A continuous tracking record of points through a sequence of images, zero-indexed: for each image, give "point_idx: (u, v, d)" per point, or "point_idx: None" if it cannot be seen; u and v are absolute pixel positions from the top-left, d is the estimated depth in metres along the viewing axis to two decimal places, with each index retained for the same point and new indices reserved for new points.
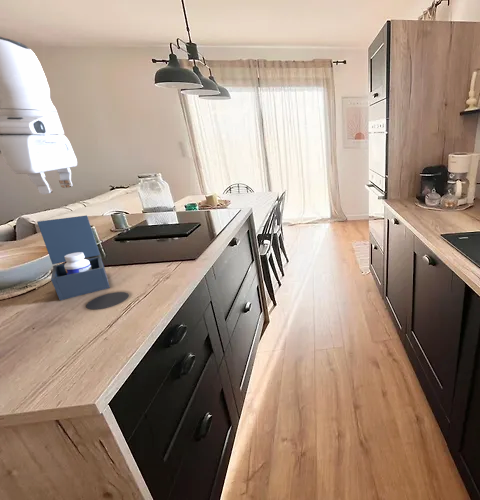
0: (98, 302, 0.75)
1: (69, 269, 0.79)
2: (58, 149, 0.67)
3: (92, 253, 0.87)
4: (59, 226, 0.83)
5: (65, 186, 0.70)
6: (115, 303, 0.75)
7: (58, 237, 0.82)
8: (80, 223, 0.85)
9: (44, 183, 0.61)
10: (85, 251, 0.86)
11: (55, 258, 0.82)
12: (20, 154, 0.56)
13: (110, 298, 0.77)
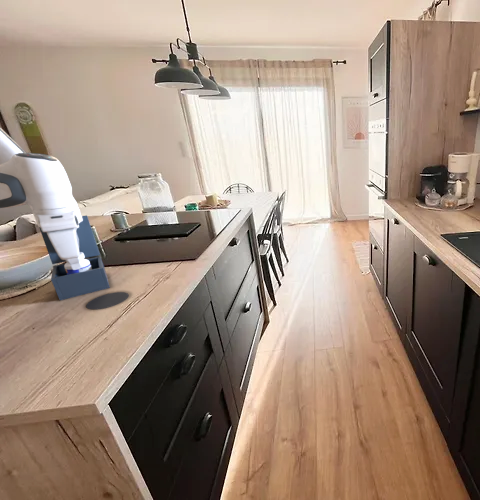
0: (98, 302, 0.75)
1: (69, 269, 0.79)
2: None
3: (92, 253, 0.87)
4: None
5: None
6: (115, 303, 0.75)
7: None
8: (80, 223, 0.86)
9: (78, 261, 0.78)
10: (85, 251, 0.86)
11: (55, 258, 0.82)
12: (69, 245, 0.72)
13: (110, 298, 0.77)
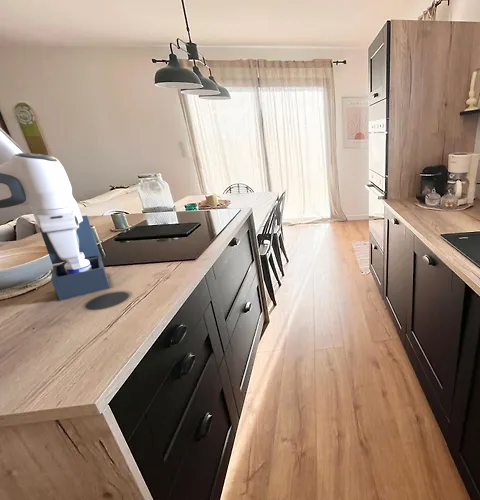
0: (98, 302, 0.75)
1: (69, 269, 0.79)
2: None
3: (92, 253, 0.87)
4: None
5: None
6: (115, 303, 0.75)
7: None
8: (80, 223, 0.86)
9: (77, 261, 0.78)
10: (85, 251, 0.86)
11: (55, 258, 0.82)
12: (69, 245, 0.72)
13: (110, 298, 0.77)
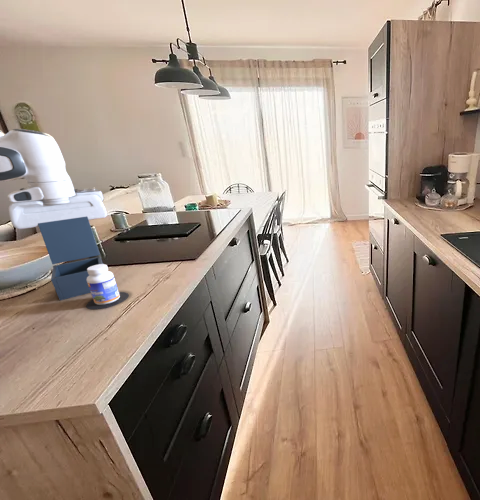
0: None
1: (92, 283, 0.72)
2: (73, 207, 0.84)
3: (92, 253, 0.87)
4: (59, 226, 0.83)
5: None
6: (115, 303, 0.75)
7: (58, 237, 0.82)
8: (79, 223, 0.85)
9: None
10: (85, 251, 0.86)
11: (55, 258, 0.82)
12: (10, 216, 0.77)
13: None
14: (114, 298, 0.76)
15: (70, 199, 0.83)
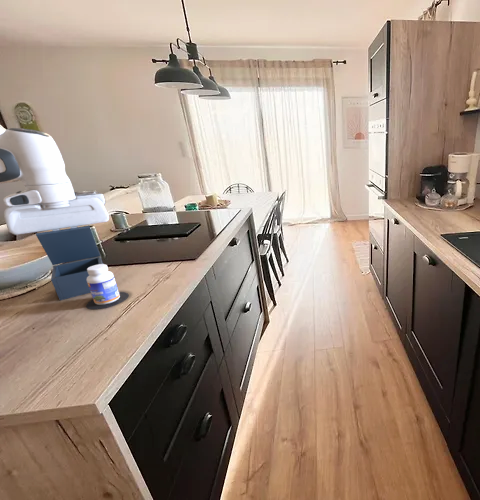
0: None
1: (92, 283, 0.72)
2: (73, 211, 0.79)
3: (93, 255, 0.87)
4: (60, 237, 0.78)
5: None
6: (115, 303, 0.75)
7: (59, 246, 0.79)
8: (82, 234, 0.80)
9: None
10: (86, 254, 0.85)
11: (55, 261, 0.82)
12: None
13: None
14: (114, 298, 0.76)
15: (70, 203, 0.78)
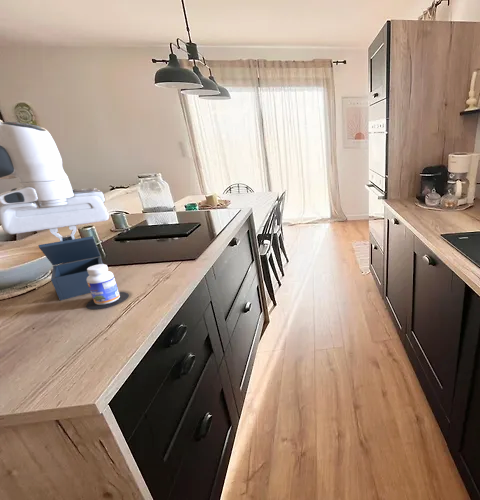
0: None
1: (92, 283, 0.72)
2: (71, 209, 0.76)
3: (93, 256, 0.87)
4: (63, 247, 0.77)
5: None
6: (115, 303, 0.75)
7: (61, 252, 0.78)
8: (84, 243, 0.79)
9: (56, 236, 0.76)
10: (86, 256, 0.85)
11: (56, 262, 0.82)
12: None
13: None
14: (114, 298, 0.76)
15: (68, 200, 0.75)
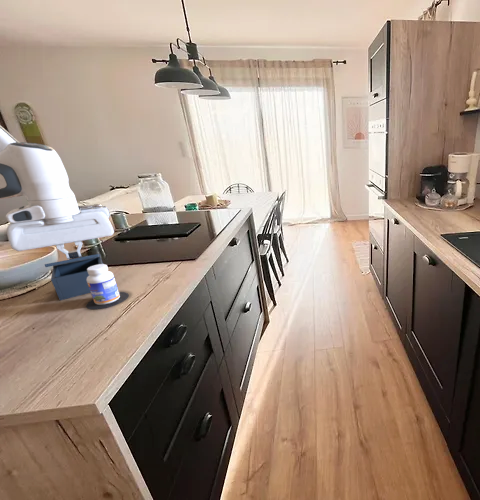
0: None
1: (92, 283, 0.72)
2: (77, 225, 0.77)
3: None
4: None
5: None
6: (115, 303, 0.75)
7: None
8: None
9: None
10: None
11: None
12: None
13: None
14: (114, 298, 0.76)
15: (74, 217, 0.76)
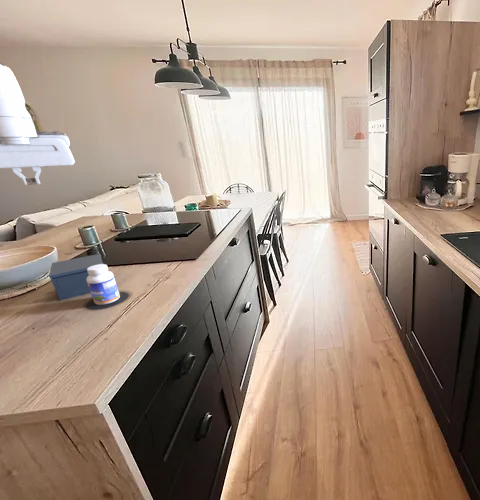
0: None
1: (92, 283, 0.72)
2: (34, 150, 0.76)
3: None
4: None
5: None
6: (115, 303, 0.75)
7: None
8: None
9: (19, 176, 0.76)
10: None
11: None
12: None
13: None
14: (114, 298, 0.76)
15: (31, 140, 0.75)
